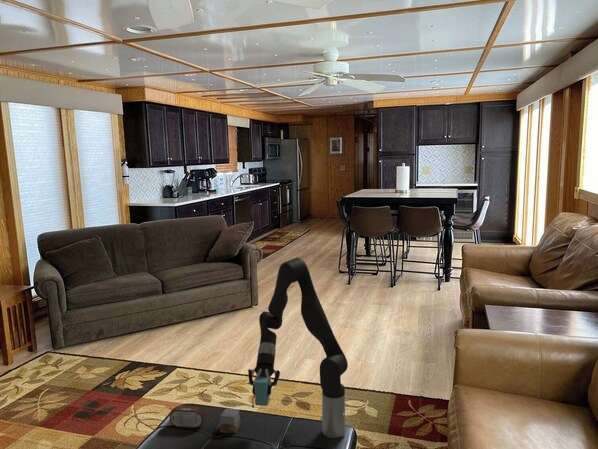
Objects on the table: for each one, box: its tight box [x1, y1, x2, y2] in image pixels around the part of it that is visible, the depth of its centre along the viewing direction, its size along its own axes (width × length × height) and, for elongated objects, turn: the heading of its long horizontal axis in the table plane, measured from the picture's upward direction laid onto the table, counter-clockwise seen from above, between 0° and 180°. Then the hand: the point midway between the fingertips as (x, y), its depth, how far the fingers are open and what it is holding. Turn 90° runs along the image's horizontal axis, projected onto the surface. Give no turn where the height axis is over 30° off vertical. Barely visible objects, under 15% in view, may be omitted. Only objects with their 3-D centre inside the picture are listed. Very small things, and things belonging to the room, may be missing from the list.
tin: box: [169, 405, 206, 429], centre depth 194 cm, size 15×3×8 cm, turn 84°
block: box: [253, 377, 271, 407], centre depth 189 cm, size 5×5×10 cm
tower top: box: [220, 408, 241, 425], centre depth 193 cm, size 6×6×4 cm
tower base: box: [219, 417, 241, 434], centre depth 193 cm, size 7×7×4 cm
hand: (261, 395), depth 187 cm, fingers closed on block, 5 cm apart
